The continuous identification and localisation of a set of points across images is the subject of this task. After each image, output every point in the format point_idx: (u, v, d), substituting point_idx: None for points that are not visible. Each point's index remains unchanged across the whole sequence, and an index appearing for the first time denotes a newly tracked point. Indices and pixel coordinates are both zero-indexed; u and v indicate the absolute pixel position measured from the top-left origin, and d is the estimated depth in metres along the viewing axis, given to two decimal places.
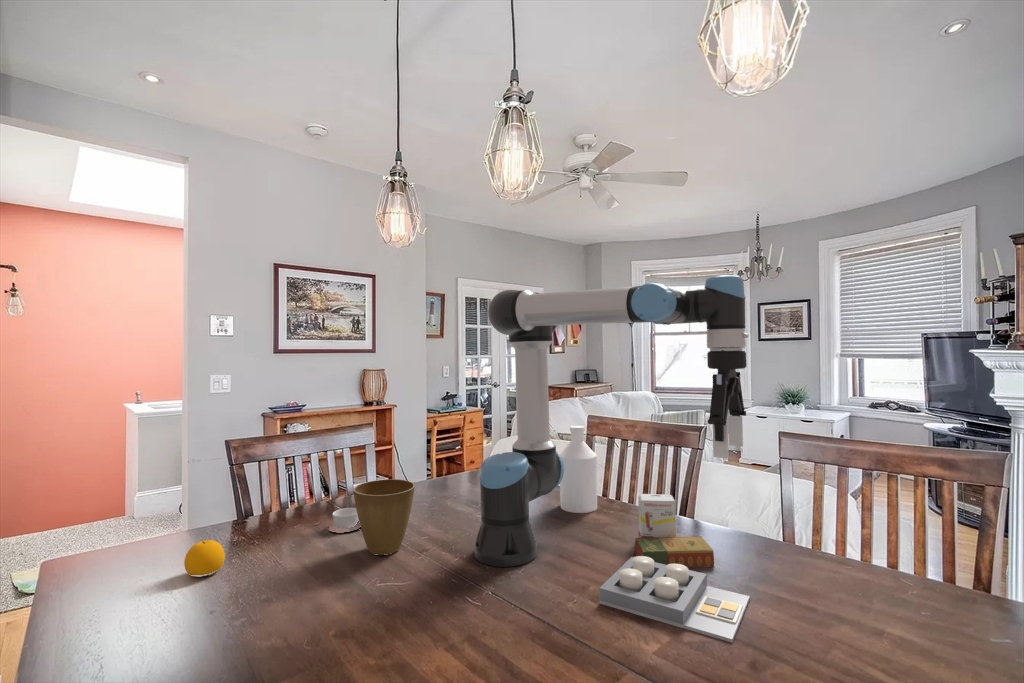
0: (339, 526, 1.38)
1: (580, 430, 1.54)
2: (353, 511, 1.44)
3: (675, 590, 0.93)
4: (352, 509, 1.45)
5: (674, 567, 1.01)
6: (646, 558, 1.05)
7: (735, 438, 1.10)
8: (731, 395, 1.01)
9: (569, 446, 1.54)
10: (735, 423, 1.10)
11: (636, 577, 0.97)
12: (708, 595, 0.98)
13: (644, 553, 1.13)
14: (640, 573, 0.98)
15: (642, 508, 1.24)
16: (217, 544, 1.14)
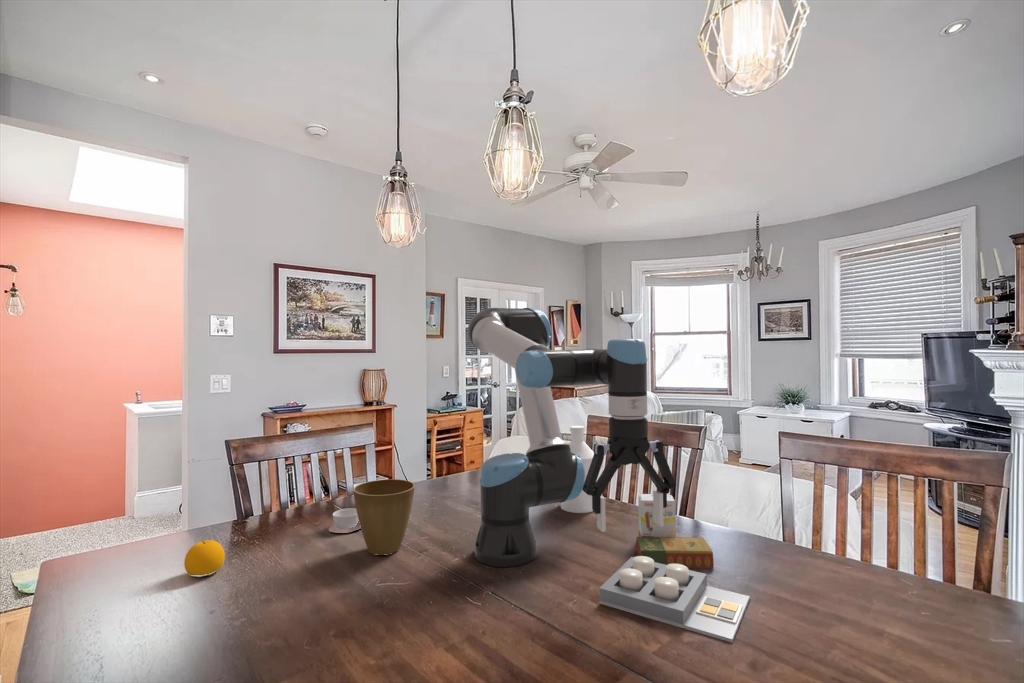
0: (339, 526, 1.38)
1: (580, 430, 1.54)
2: (353, 511, 1.44)
3: (675, 590, 0.93)
4: (353, 510, 1.44)
5: (674, 567, 1.01)
6: (646, 558, 1.05)
7: (656, 516, 1.00)
8: (616, 466, 0.97)
9: None
10: (656, 499, 1.00)
11: (636, 577, 0.97)
12: (708, 595, 0.98)
13: (642, 552, 1.13)
14: (640, 573, 0.98)
15: (642, 508, 1.24)
16: (217, 544, 1.14)
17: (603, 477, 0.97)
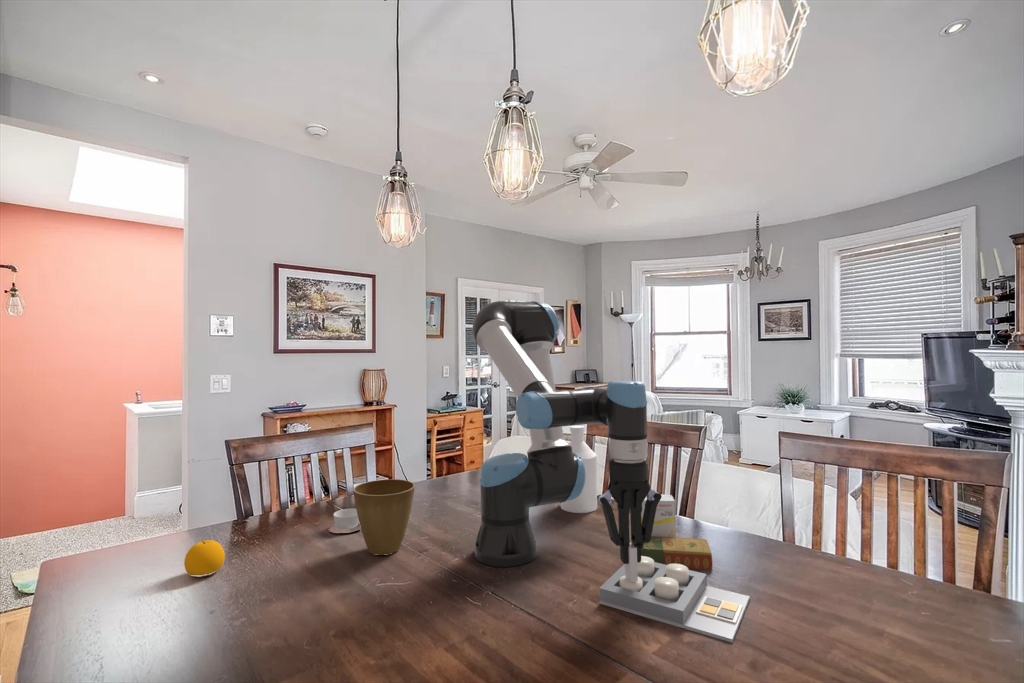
0: (340, 526, 1.38)
1: (580, 430, 1.54)
2: (354, 512, 1.44)
3: (675, 590, 0.93)
4: (353, 510, 1.44)
5: (674, 567, 1.01)
6: (646, 558, 1.05)
7: None
8: (627, 512, 0.97)
9: None
10: None
11: (636, 584, 0.97)
12: (708, 595, 0.98)
13: None
14: (640, 580, 0.98)
15: (642, 508, 1.24)
16: (217, 544, 1.14)
17: (622, 527, 0.98)
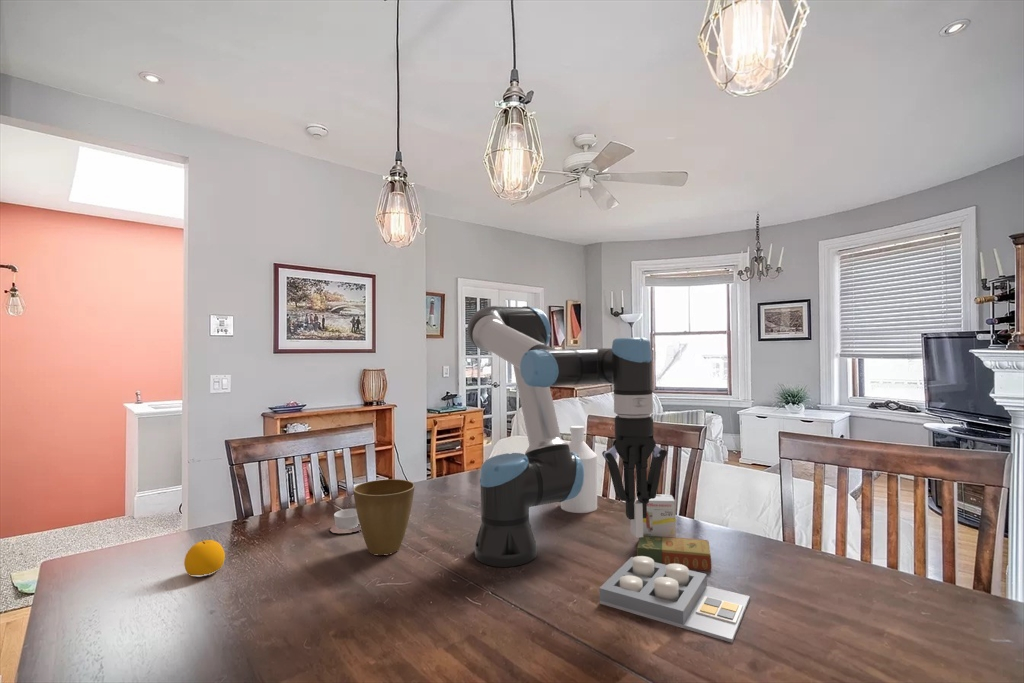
0: (341, 527, 1.37)
1: (580, 430, 1.54)
2: (354, 512, 1.44)
3: (675, 590, 0.93)
4: (354, 510, 1.44)
5: (674, 567, 1.01)
6: (646, 558, 1.05)
7: None
8: (632, 467, 0.97)
9: (569, 446, 1.54)
10: None
11: (636, 584, 0.97)
12: (708, 595, 0.98)
13: (638, 549, 1.15)
14: (640, 580, 0.98)
15: None
16: (217, 544, 1.14)
17: (627, 483, 0.98)
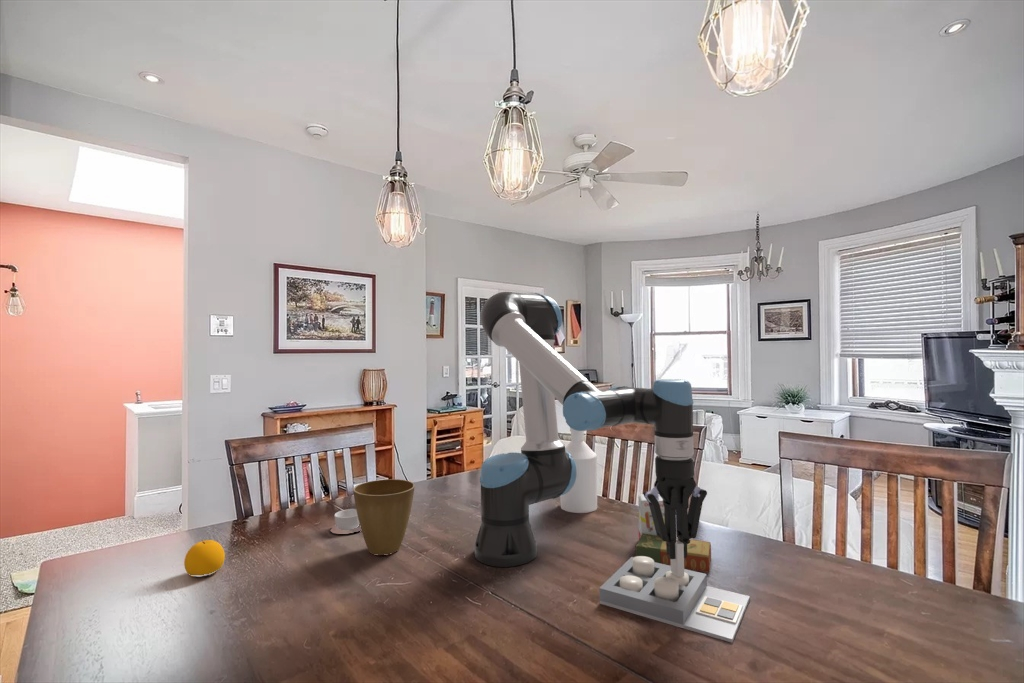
0: (341, 527, 1.37)
1: None
2: (355, 512, 1.43)
3: (675, 590, 0.93)
4: (354, 510, 1.43)
5: None
6: (646, 558, 1.05)
7: None
8: (674, 508, 0.99)
9: (569, 446, 1.54)
10: None
11: (636, 584, 0.97)
12: (708, 595, 0.98)
13: (637, 547, 1.16)
14: (640, 580, 0.98)
15: (642, 508, 1.24)
16: (217, 544, 1.14)
17: (668, 523, 1.00)
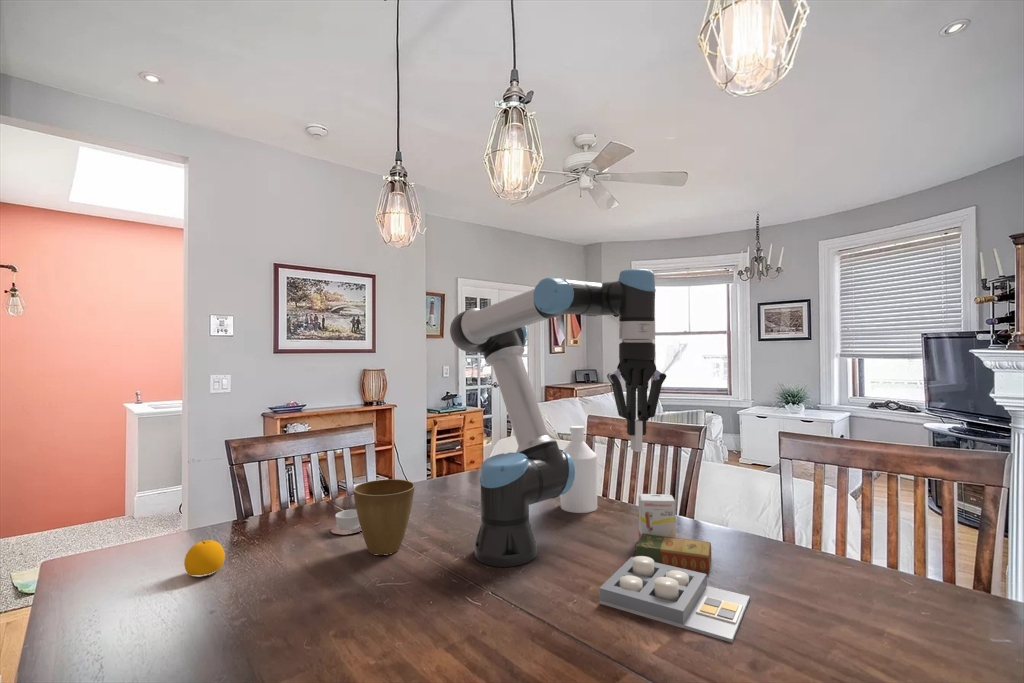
0: (342, 527, 1.37)
1: (580, 430, 1.54)
2: (356, 513, 1.43)
3: (675, 590, 0.93)
4: (355, 511, 1.43)
5: (674, 574, 1.01)
6: (646, 558, 1.05)
7: None
8: (634, 388, 1.06)
9: (569, 446, 1.54)
10: None
11: (636, 584, 0.97)
12: (708, 595, 0.98)
13: (637, 547, 1.16)
14: (640, 580, 0.98)
15: (642, 508, 1.24)
16: (217, 544, 1.14)
17: (629, 402, 1.07)
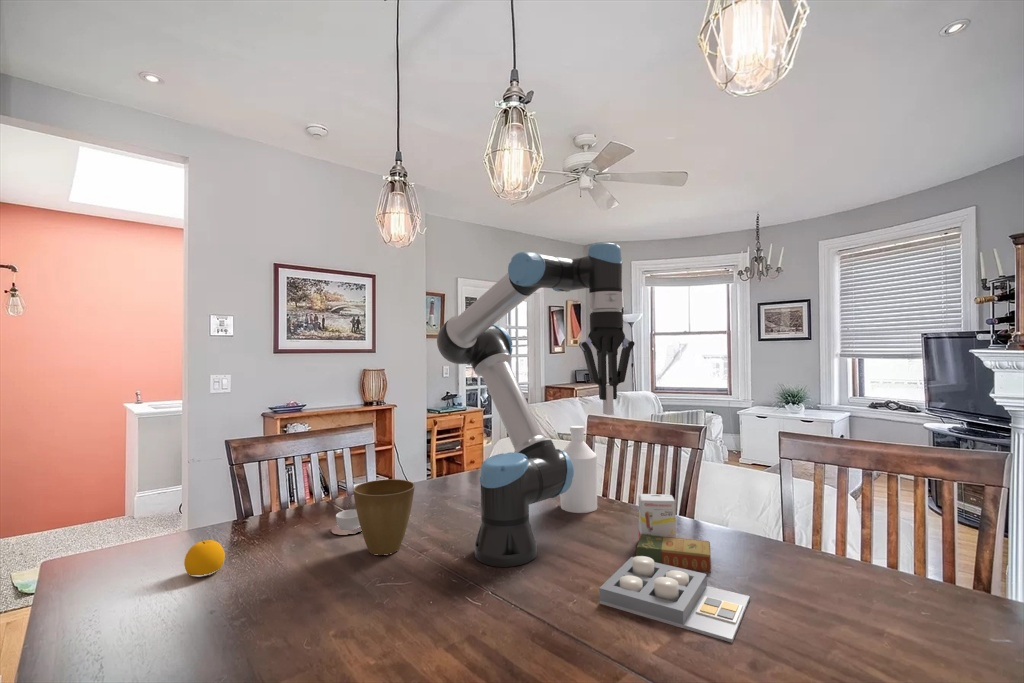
0: (343, 528, 1.37)
1: (580, 430, 1.54)
2: (356, 513, 1.43)
3: (675, 590, 0.93)
4: (356, 511, 1.43)
5: (674, 574, 1.01)
6: (646, 558, 1.05)
7: None
8: (604, 355, 1.13)
9: (569, 446, 1.54)
10: None
11: (636, 584, 0.97)
12: (708, 595, 0.98)
13: (638, 548, 1.15)
14: (640, 580, 0.98)
15: (642, 508, 1.24)
16: (217, 544, 1.14)
17: (600, 368, 1.14)
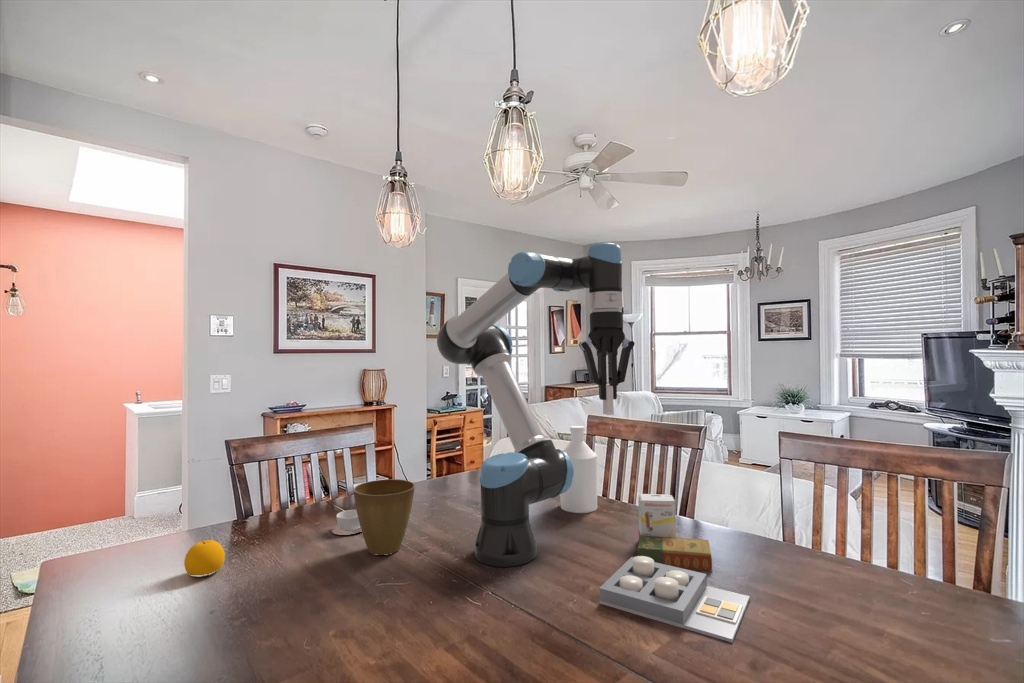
0: (343, 528, 1.36)
1: (580, 430, 1.54)
2: None
3: (675, 590, 0.93)
4: (356, 511, 1.43)
5: (674, 574, 1.01)
6: (646, 558, 1.05)
7: None
8: (604, 355, 1.13)
9: (569, 446, 1.54)
10: None
11: (636, 584, 0.97)
12: (708, 595, 0.98)
13: (639, 549, 1.15)
14: (640, 580, 0.98)
15: (642, 508, 1.24)
16: (217, 544, 1.14)
17: (600, 368, 1.14)
